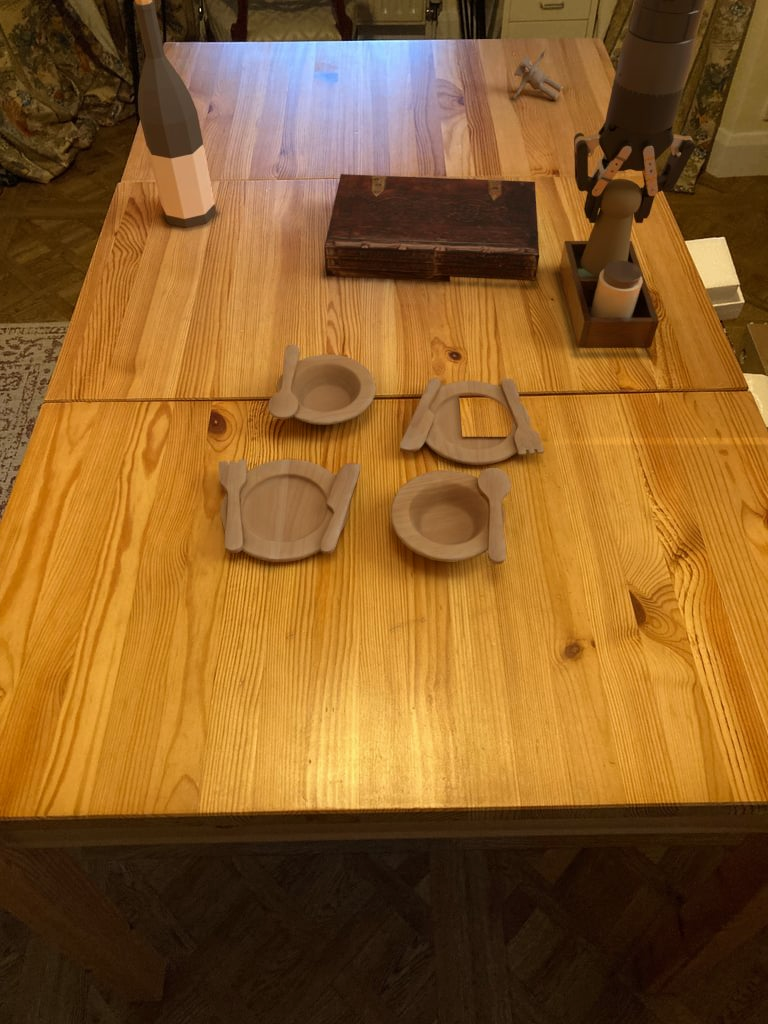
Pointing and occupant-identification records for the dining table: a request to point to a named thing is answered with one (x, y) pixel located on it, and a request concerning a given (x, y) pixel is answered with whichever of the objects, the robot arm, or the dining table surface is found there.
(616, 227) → the pepper mill
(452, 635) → the dining table surface
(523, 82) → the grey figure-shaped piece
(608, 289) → the spice pot
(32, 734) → the dining table surface
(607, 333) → the box
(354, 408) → the tableware set
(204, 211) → the wine bottle
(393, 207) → the hardback book
